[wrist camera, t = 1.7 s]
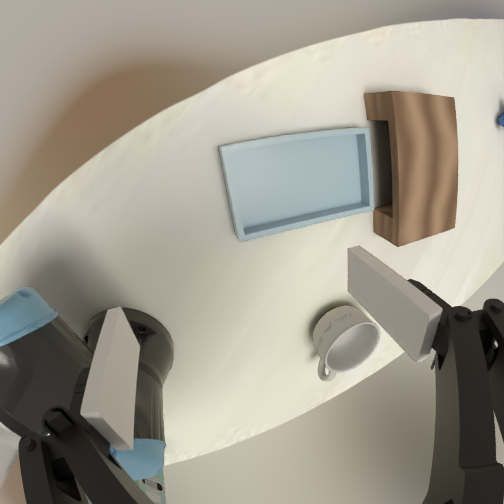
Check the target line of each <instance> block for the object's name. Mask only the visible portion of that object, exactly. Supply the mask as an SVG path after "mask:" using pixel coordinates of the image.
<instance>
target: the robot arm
mask: <svg viewBox="0 0 504 504" xmlns="http://www.w3.org/2000/svg"><path fill="white" fill-rule="evenodd" d="M348 292H349V293H350V294H351V295H352V296H353V297H354V298H355V299H356V300H357V301H358V302H359V303H360V304H361V305H362V306H363V307H364V308H365V310H366V311H367V312H368V313H369V314H370V315H371V316H372V317H373V318H374V319H375V320H376V321H377V322H378V323H379V324H380V325H381V326H382V327H383V329H384V330H385V331H386V332H387V333H388V334H389V335H390V336H391V337H392V338H393V339H394V340H395V341H396V342H397V344H398V345H399V346H400V347H401V348H402V349H403V350H404V351H405V352H406V353H407V354H408V356H409V357H410V358H411V359H412V360H413V361H414V362H415V363H416V364H417V363H419V362H421V361H423V360H424V359H426V358H428V357H429V354H430V351H431V348H433V349H434V350H435V351H436V354H435V357H434V360H433V363H432V366H431V369H433V368H434V365H435V374H436V421H435V439H434V451H433V461H432V469H431V477H430V483H429V490H428V493H427V496H426V497H425V499H424V501H423V503H422V504H503V499H504V467H503V465H502V464H500V463H497V461H496V442H495V424H494V413H495V416H496V418H497V422H498V425H499V428H500V431H501V435H502V438H503V441H504V303H503V302H502V301H500V300H498V299H488V300H486V301H485V302H484V305H483V309H482V310H477V311H473V312H472V311H471V310H470V309H468V308H466V307H462V306H455V307H451V306H450V305H449V304H448V303H446V302H445V301H444V300H442V299H441V298H440V297H439V296H437V295H436V294H435V293H433V292H432V291H431V290H429V289H427V287H425V286H424V285H423V284H421V283H420V282H418V281H415V280H412V279H409V280H406V279H404V278H403V277H402V276H401V275H399V274H398V273H397V272H395V271H394V270H393V269H391V268H390V267H388V266H387V265H386V264H384V263H383V262H382V261H380V260H379V259H378V258H376V257H375V256H373V255H372V254H371V253H369V252H368V251H367V250H365V249H364V248H362V247H361V246H355V247H352V248H348ZM495 341H497V343H498V347H496V346H495V344H494V343H495ZM172 363H173V342H172V339H171V337H170V335H169V333H168V331H167V330H166V329H165V328H164V326H163V325H162V324H160V323H159V322H158V321H157V320H156V319H154V318H153V317H151V316H149V315H147V314H145V313H143V312H140V311H137V310H133V309H127V308H121V306H120V307H116V308H112V309H108V310H105V311H103V312H100V313H99V314H97V315H96V316H94V317H93V318H92V319H91V320H90V322H89V323H88V325H87V328H86V330H85V333H84V336H83V341H82V340H81V339H80V338H79V337H78V336H77V335H76V334H75V333H74V332H73V331H72V330H71V329H70V328H69V327H68V325H67V324H66V323H65V322H64V321H63V320H62V319H61V318H60V317H59V315H58V312H57V310H55V309H52V308H51V307H50V305H49V304H48V303H47V302H46V301H45V300H44V299H43V298H42V297H41V296H40V295H39V294H38V292H37V291H35V290H34V289H33V288H31V287H27V286H23V287H19V288H17V289H16V290H14V291H13V292H11V293H10V294H9V295H7V296H6V297H5V298H4V299H2V300H1V301H0V489H1V487H2V485H3V483H4V481H5V479H6V477H7V475H8V473H9V471H10V469H11V467H12V466H13V464H14V462H15V460H16V458H17V456H18V455H19V459H20V468H21V475H22V481H23V487H24V493H25V497H26V502H27V504H89V503H88V500H87V497H88V498H89V500H90V501H91V503H92V504H154V503H153V501H152V500H151V499H150V498H149V497H148V496H147V495H146V494H145V493H144V492H143V491H142V490H141V489H140V487H139V486H138V485H137V484H136V483H135V482H134V481H133V480H141V479H146V478H150V477H152V476H155V475H156V474H158V473H159V472H160V471H161V470H162V468H163V466H164V449H165V447H166V444H165V439H164V422H163V399H162V386H163V384H164V382H165V380H166V377H167V375H168V373H169V371H170V369H171V367H172ZM493 410H494V413H493ZM48 434H50V435H48ZM47 435H48V436H47ZM86 495H87V497H86Z"/></svg>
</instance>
